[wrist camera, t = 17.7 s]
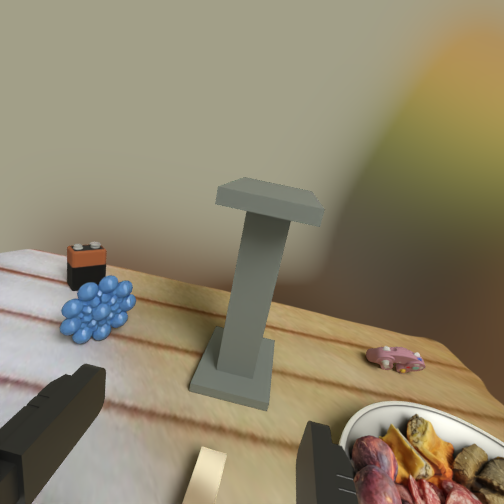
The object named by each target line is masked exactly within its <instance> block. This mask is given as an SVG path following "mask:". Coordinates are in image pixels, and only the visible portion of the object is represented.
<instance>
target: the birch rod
mask: <svg viewBox="0 0 504 504" xmlns="http://www.w3.org/2000/svg"><path fill="white" fill-rule="evenodd" d="M226 456H227V454H225V453H222V452H219V451H215V450H212V449H209V448H205V447H202V448H201V451H200V454H199V457H198V460H197V463H196V465H195V468H194V471H193V474H192V477H191V480H190V483H189V486H188V489H187V491H186V494H185V497H184V500H183V503H182V504H215V501H216V497H217V493H218V489H219V485H220V481H221V477H222V473H223V469H224V465H225V461H226Z"/></svg>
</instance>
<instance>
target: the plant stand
mask: <svg viewBox="0 0 504 504" xmlns="http://www.w3.org/2000/svg"><path fill="white" fill-rule="evenodd" d="M215 204H217V205H222V206H226V207H231V208H236V209H240V210H245V211H247V213H246V217H245V223H244V228H243V233H242V238H241V244H240V249H239V254H238V260H237V265H236V270H235V275H234V280H233V285H232V291H231V296H230V301H229V306H228V311H227V317H226V322H225V327H224V328H222V327H218V326H216V328H215V330H214V332H213V334H212V337H211V339H210V341H209V343H208V345H207V348H206V350H205V352H204V354H203V356H202V359H201V361H200V363H199V365H198V368H197V370H196V372H195V374H194V376H193V379H192V381H191V383H190V389H189V391H191V392H195V393H198V394H202V395H206V396H210V397H214V398H218V399H222V400H225V401H229V402H233V403H237V404H241V405H245V406H249V407H252V408H256V409H260V410H264V411H267V409H268V405H269V398H270V387H271V376H272V365H273V354H274V342H275V340H271V339H267V338H263V334H264V330H265V325H266V321H267V317H268V313H269V309H270V305H271V300H272V296H273V292H274V288H275V284H276V280H277V276H278V271H279V267H280V263H281V259H282V255H283V251H284V247H285V242H286V239H287V234H288V230H289V226H290V222H291V221H296V222H300V223H305V224H309V225H314V226H318V227H320V224H321V220H322V217H323V213H324V208H323V206H322V205H321V204H320V202H319V201H318V200H317V198H316V196H315V195H314V194H313V192H311V191H308V190H303V189H298V188H293V187H288V186H283V185H279V184H274V183H270V182H265V181H260V180H256V179H251V178H246V177H244V178H241V179H238V180H235V181H232V182H230V183H227V184H224V185H221V186H218V190H217V197H216V203H215Z"/></svg>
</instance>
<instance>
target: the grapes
mask: <svg viewBox="0 0 504 504" xmlns="http://www.w3.org/2000/svg"><path fill="white" fill-rule="evenodd" d="M132 289H133V287H132V283H131V282H130V281H122V282H119V283H118V279H117V278H116V277H115V276H111V275H110V276H106V277H104V278H103V279H102V280H101V281H100V282H99V285H97V284H95V283H93V282H89V283H86V284H84V285H82V286H81V287H80V289H79V290H78V293H77V295H78V298H79V299H72V300H69V301H68V302H66V303H65V304H64V306H63V308H62V310H61V311H62V315H63V316H65V317H66V319H65V320H64V321H63V322H62V323H61V326H60V332H61V333H63V334H64V335H71V334H73V336H72V338H73V341H74V342H76V343H77V344H82V343H85V342H87V341H88V340H89V339H90V338H91V337H93V338H94V339H95V340H103V339H105V338H106V337H107V336H108V335H109V334H110V332H111V326H112V327H113V328H118V327H121V326H122V325H124V324H125V322H126V321H127V318H128V315H127V312H126V311H128V310H131V309H132V308H133V307H134V305H135V303H136V299H135V296H134V295H132V294H130V293H131V292H132Z"/></svg>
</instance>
